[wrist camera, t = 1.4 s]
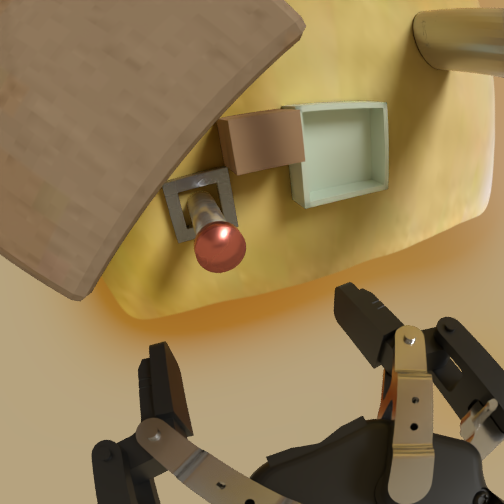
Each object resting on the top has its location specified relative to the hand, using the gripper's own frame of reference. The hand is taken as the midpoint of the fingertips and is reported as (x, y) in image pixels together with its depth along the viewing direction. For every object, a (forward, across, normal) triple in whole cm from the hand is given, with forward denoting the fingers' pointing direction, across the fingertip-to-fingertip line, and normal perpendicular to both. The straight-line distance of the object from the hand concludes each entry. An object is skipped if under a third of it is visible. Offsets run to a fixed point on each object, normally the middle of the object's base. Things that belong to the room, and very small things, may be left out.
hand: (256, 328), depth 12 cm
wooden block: (+18, +4, -12) cm, 22 cm away
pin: (+18, 0, 0) cm, 18 cm away
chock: (+18, -6, -5) cm, 20 cm away
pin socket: (+18, 0, 0) cm, 18 cm away
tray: (+18, -15, -3) cm, 23 cm away
